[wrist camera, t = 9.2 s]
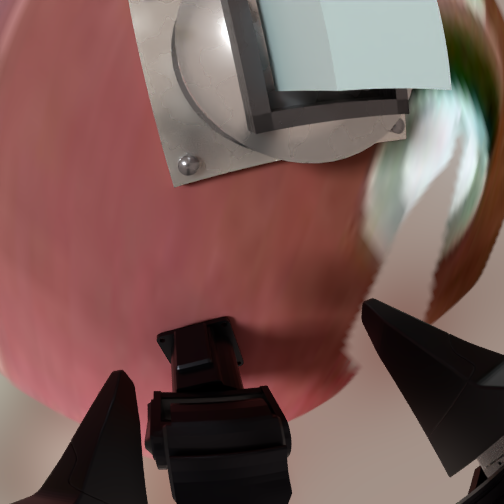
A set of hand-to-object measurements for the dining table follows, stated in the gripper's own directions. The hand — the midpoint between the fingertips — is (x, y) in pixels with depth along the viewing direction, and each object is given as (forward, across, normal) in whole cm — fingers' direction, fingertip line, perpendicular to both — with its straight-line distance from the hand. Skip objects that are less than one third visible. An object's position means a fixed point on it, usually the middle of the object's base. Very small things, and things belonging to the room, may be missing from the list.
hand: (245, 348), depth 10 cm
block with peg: (+7, -7, -10) cm, 14 cm away
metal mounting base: (+12, -7, -10) cm, 17 cm away
